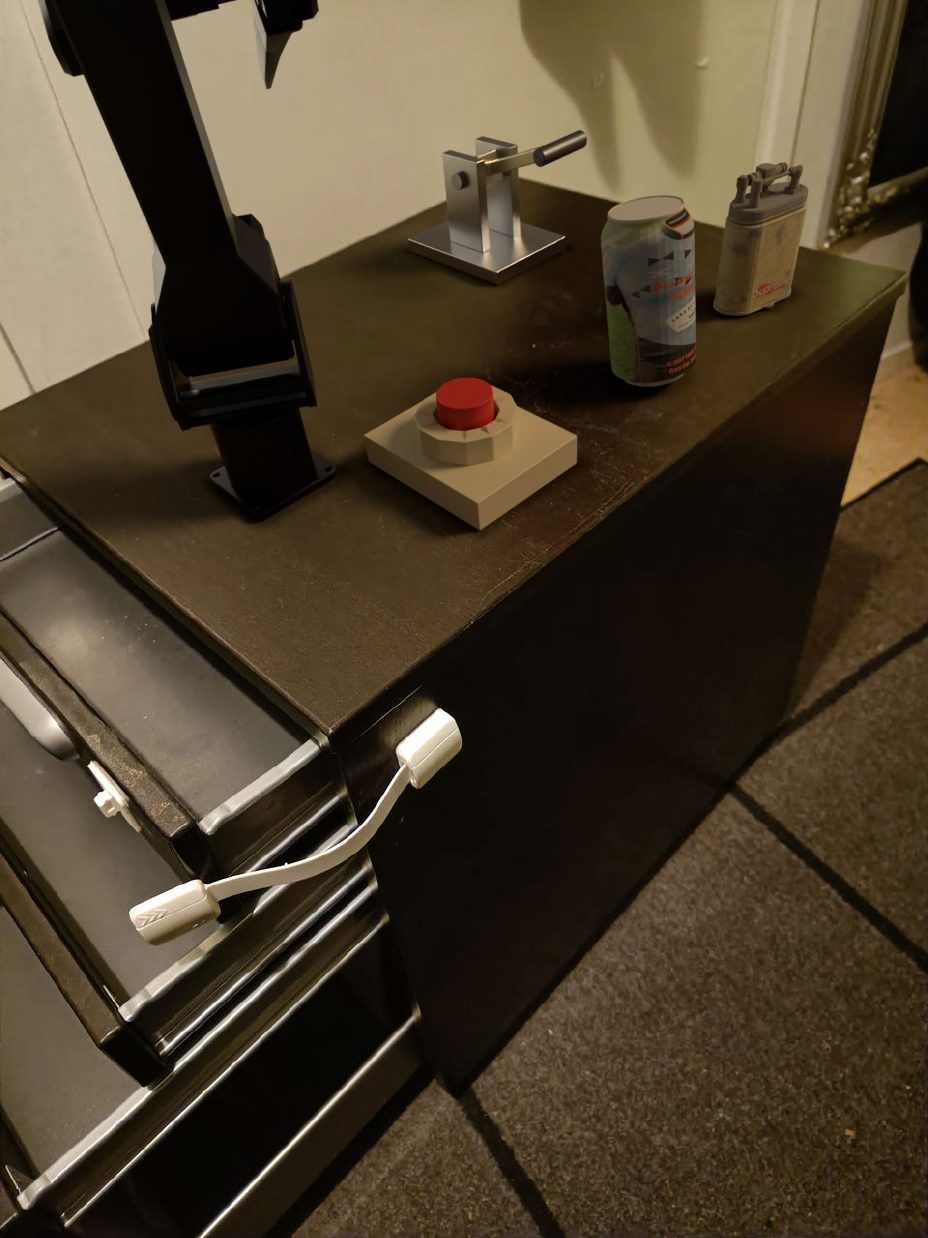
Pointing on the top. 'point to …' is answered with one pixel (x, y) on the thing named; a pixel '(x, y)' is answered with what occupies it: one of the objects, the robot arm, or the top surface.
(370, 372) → the top surface
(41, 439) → the top surface
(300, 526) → the top surface
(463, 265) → the bracket
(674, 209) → the beverage can
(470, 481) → the button box
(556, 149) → the lever
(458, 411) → the button
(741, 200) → the lighter
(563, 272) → the top surface
